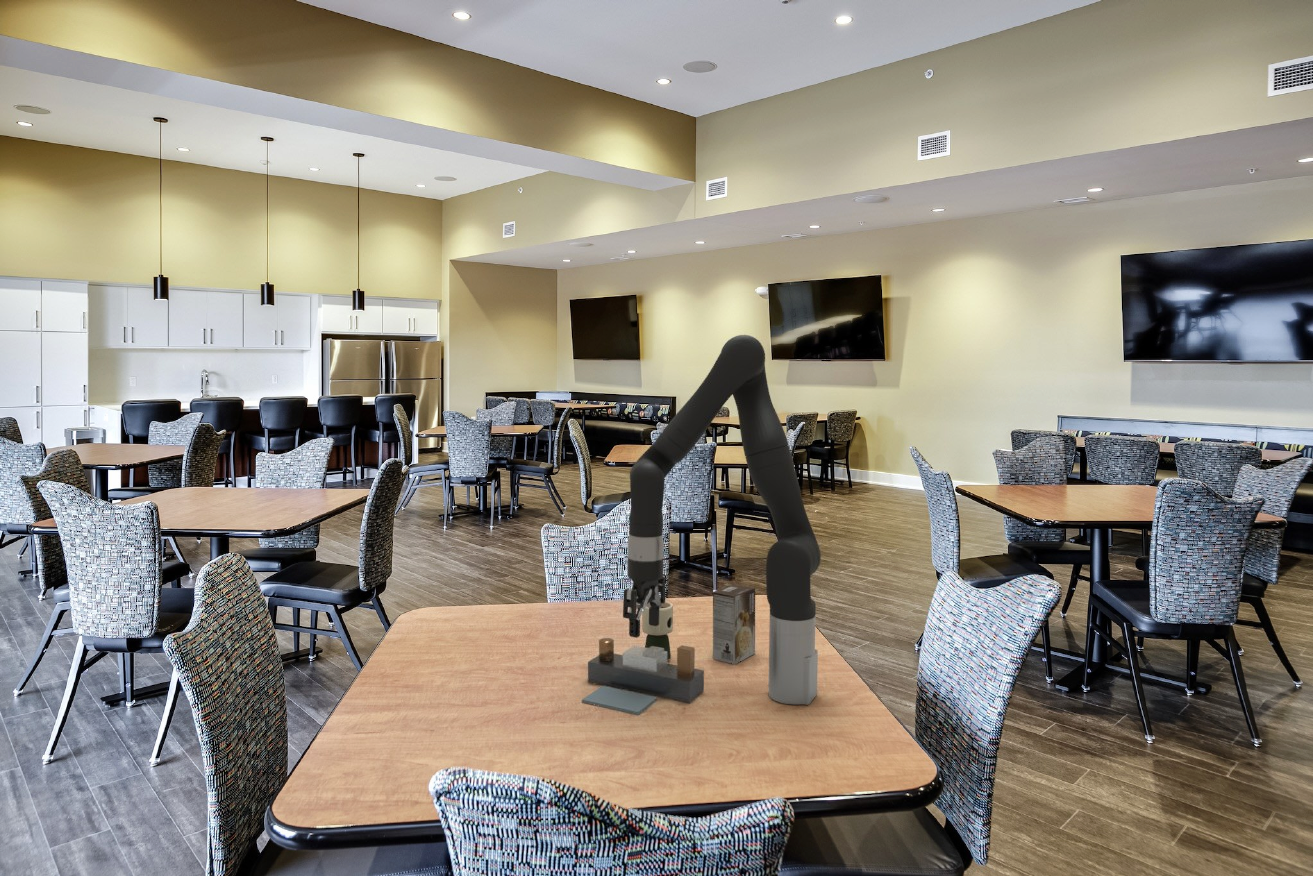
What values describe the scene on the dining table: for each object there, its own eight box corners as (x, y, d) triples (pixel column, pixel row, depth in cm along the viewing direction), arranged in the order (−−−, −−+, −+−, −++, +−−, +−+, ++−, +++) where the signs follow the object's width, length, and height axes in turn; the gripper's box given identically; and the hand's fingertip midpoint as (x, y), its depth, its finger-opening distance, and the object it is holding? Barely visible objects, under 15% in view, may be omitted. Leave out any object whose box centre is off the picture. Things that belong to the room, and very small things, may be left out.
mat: (657, 700, 163) (657, 697, 163) (638, 715, 156) (638, 712, 156) (602, 688, 169) (602, 685, 169) (581, 702, 162) (581, 699, 162)
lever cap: (667, 665, 170) (667, 647, 170) (656, 673, 166) (656, 655, 166) (634, 659, 174) (634, 642, 174) (622, 666, 170) (622, 649, 169)
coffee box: (732, 648, 194) (733, 583, 193) (755, 654, 190) (756, 587, 189) (711, 659, 187) (712, 591, 185) (735, 665, 183) (736, 596, 181)
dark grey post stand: (703, 691, 168) (704, 644, 167) (689, 703, 162) (689, 655, 161) (604, 671, 179) (604, 627, 178) (588, 682, 173) (587, 636, 172)
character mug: (672, 668, 181) (673, 611, 180) (641, 668, 181) (641, 611, 180) (672, 651, 192) (672, 598, 191) (642, 651, 192) (642, 597, 191)
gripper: (645, 565, 160) (643, 644, 162) (676, 550, 173) (675, 624, 174) (612, 560, 164) (611, 637, 165) (646, 546, 176) (645, 618, 178)
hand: (644, 630), depth 170 cm, fingers open, 8 cm apart
